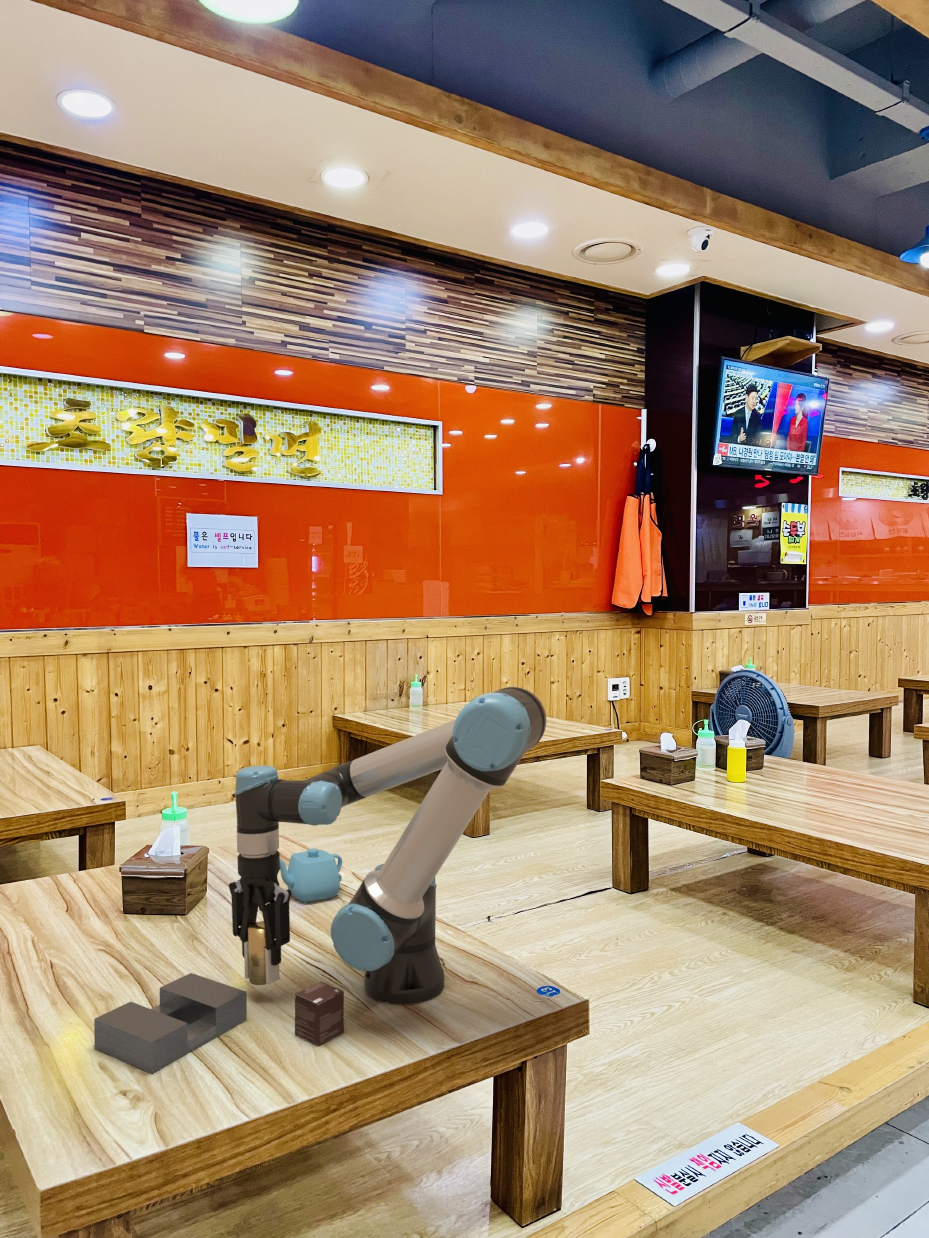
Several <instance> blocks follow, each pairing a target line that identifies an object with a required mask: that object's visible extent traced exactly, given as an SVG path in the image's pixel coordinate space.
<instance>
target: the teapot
mask: <svg viewBox="0 0 929 1238" xmlns="http://www.w3.org/2000/svg"><path fill="white" fill-rule="evenodd" d="M306 850H307V851H301V852H295V853H291V855H290V858H289V863H288V866H286V865H287V864H286V863H285V861H284V860H283V859H281V858H280V871H279V872H280V876H281V880H282V881H283V883H284V884H285V885H286V886H287V890H288V889H289V890H291V896H292V897H294V898H295V899H297V900H299V901H301V902H302V903H305V904H306V903H310V902H313V901H314V902H315V901H318V900H319V901H320V900H324V899H326V900H328V899H331V898H333V897H336V896H338V894H339V893H340V889H341V888H340V887H341V884H340V883H341V882H342V879H343V878H342V875H341V874H340V870H341V868H342V865H343V858H342V857H341V855H339V854H337V853H330V852H327V851H326V850H323V849H318V848H309V849H306ZM336 859H337V861H336Z"/></svg>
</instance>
